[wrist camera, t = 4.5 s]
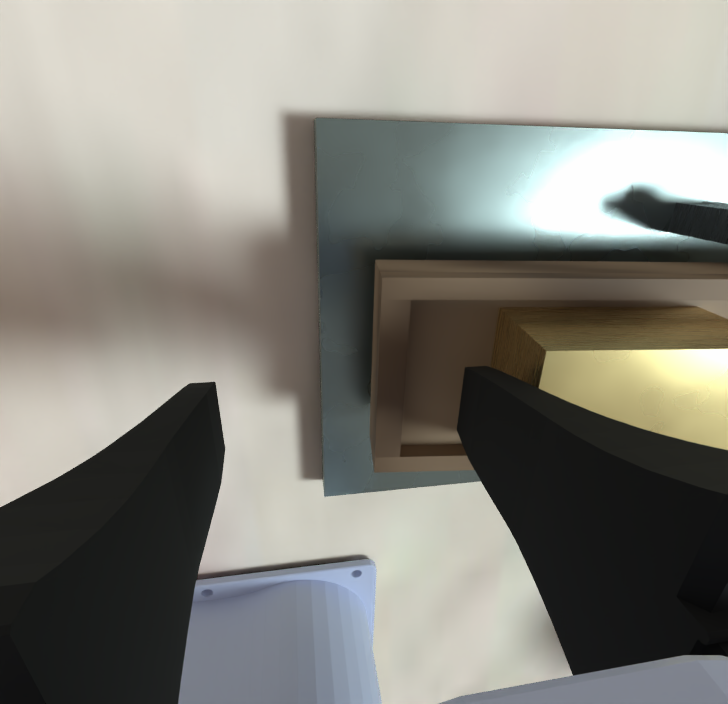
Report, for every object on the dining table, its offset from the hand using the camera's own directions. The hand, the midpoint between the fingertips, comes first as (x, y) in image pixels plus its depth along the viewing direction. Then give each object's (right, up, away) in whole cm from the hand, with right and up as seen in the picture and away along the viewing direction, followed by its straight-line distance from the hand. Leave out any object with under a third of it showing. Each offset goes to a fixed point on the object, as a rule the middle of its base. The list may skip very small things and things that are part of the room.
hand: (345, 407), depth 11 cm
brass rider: (+7, +1, +2) cm, 8 cm away
